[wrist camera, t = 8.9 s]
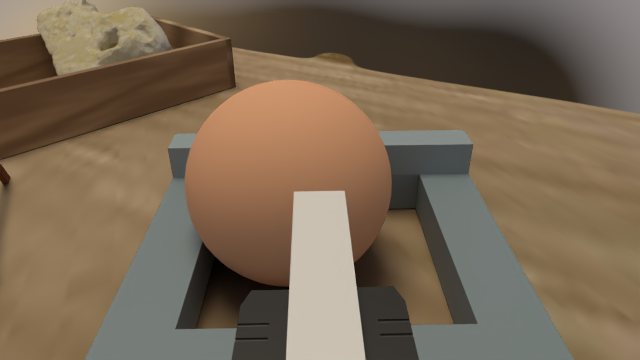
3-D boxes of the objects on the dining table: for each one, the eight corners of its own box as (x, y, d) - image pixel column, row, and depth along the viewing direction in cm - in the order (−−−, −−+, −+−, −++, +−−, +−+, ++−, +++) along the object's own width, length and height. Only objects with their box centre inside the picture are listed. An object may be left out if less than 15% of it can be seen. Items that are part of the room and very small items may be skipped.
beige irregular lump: (190, 135, 47) (198, 11, 52) (140, 98, 40) (156, -39, 46) (65, 162, 51) (85, 45, 57) (2, 132, 45) (32, 3, 50)
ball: (433, 94, 25) (409, 280, 26) (276, 83, 30) (264, 239, 31) (337, 74, 16) (310, 349, 18) (142, 63, 21) (133, 278, 23)
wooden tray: (235, 86, 51) (231, 38, 48) (-14, 163, 36) (-40, 100, 34) (155, 56, 61) (147, 14, 58) (-67, 107, 46) (-89, 55, 44)
